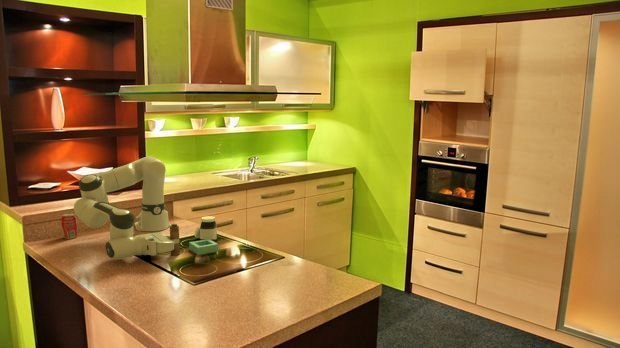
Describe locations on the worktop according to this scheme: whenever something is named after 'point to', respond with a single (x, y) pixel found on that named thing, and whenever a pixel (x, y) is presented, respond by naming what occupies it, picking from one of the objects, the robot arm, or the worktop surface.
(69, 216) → the soda can
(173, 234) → the brown textured cylinder
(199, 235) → the spread jar
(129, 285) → the worktop surface
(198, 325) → the worktop surface
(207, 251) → the teal square tray
